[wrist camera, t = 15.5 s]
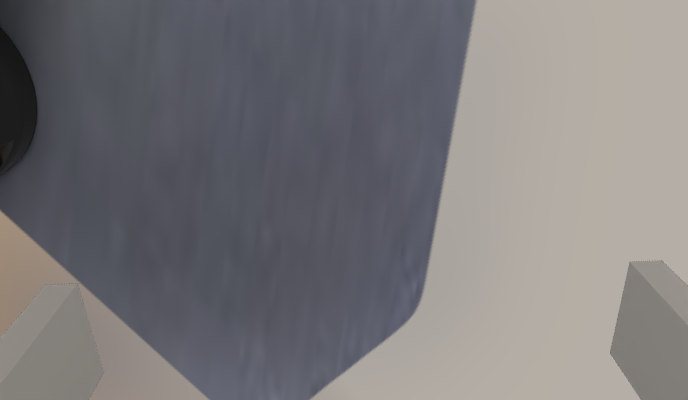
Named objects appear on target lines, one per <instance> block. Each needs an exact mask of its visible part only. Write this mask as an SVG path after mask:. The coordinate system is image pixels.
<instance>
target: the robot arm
mask: <svg viewBox="0 0 688 400" xmlns="http://www.w3.org/2000/svg"><path fill="white" fill-rule="evenodd" d="M35 123H36V100H35V94H34V89H33V85H32V82H31V79H30V76H29V73H28V71H27V68H26V66H25V64H24V62H23V60H22V58H21V56H20V54H19V53H18V51H17V49H16V48H15V46H14V45H13V43H12V42H11V41H10V39H9V38H8V37H7V35H6V34H5V33H4V32H3V31H2V29H1V28H0V175H1V174H2V173H4V172H5V171H7V170H8V169H10V168H11V167H12V166H13V165H14V164H15V163H16V162H18V160H19V159H20V158H21V157H22V156H23V154H24V153H25V151H26V149H27V148H28V146H29V144H30V142H31V139H32V136H33V133H34V129H35ZM610 354H611V355H612V357H613V358H614V360H615V361H616V363H617V364H618V366H619V367H620V369H621V370H622V372H623V373H624V375H625V376H626V378H627V379H628V381H629V382H630V384H631V385H632V387H633V388H634V390H635V391H636V393H637V394H638V396H639V397H640V399H641V400H688V285H687V284H686V283H685V282H684V281H683V280H682V279H680V277H678V276H677V275H676V274H675V273H674V272H673V271H672V270H671V269H670V268H669V267H668V266H667V265H666V264H665V263H664V262H663V261H662V260H661V261H638V262H637V261H636V262H629V267H628V272H627V277H626V281H625V286H624V290H623V295H622V300H621V304H620V309H619V313H618V318H617V323H616V327H615V332H614V336H613V341H612V345H611V350H610ZM103 373H104V371H103V367H102V364H101V361H100V357H99V354H98V351H97V347H96V344H95V340H94V337H93V334H92V330H91V327H90V323H89V320H88V317H87V313H86V310H85V307H84V303H83V300H82V297H81V293H80V290H79V286H78V283H75V284H50V285H45V286H44V287H43V288H42V290H41V291H40V292H39V293H38V294H37V296H36V297H35V298H34V299H33V300H32V302H31V303H30V304H29V305H28V306H27V307H26V308H25V309H24V311H23V312H22V313H21V314H20V316H19V317H18V318H17V319H16V320H15V321H14V322H13V324H12V325H11V326H10V327H9V328H8V329H7V330H6V332H5V333H4V334H3V335H2V336H1V337H0V400H89V399H90V397H91V395H92V393H93V391H94V390H95V388H96V386H97V384H98V382H99V380H100V379H101V377H102V375H103Z"/></svg>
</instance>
